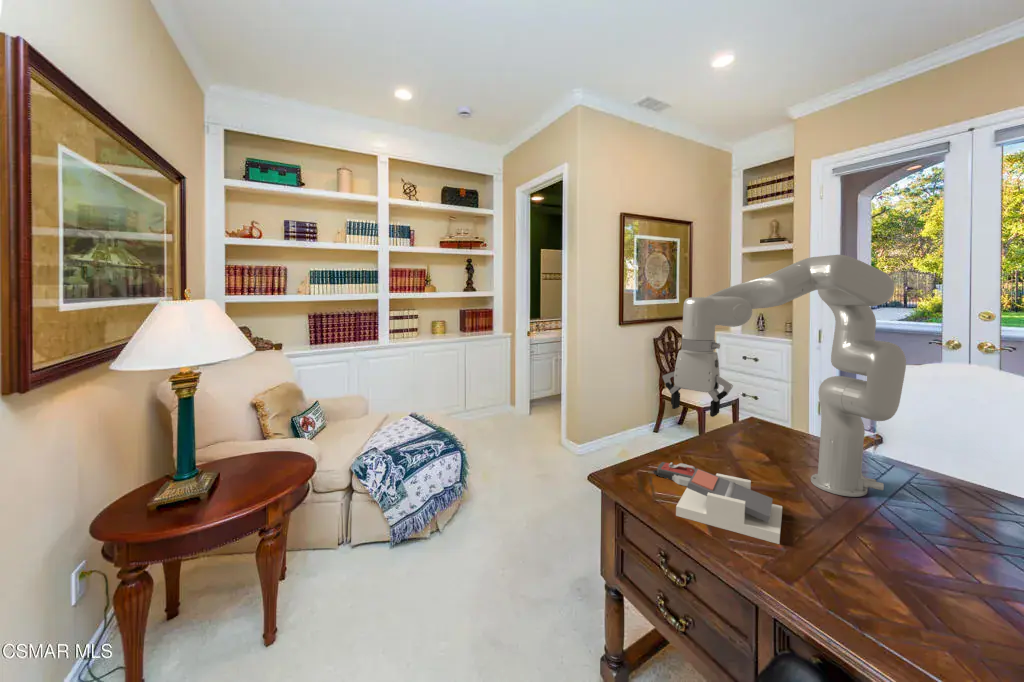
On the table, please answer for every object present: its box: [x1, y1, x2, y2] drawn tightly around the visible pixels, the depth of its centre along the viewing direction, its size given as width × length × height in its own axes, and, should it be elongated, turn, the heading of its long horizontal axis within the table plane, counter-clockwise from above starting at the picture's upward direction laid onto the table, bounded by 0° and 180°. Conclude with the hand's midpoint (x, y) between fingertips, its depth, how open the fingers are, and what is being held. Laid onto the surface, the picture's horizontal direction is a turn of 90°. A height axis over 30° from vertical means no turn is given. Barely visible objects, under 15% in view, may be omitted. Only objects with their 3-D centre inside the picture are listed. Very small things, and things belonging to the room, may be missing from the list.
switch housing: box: [675, 473, 783, 545], centre depth 103 cm, size 22×14×8 cm, turn 55°
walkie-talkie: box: [652, 461, 697, 487], centre depth 123 cm, size 9×4×20 cm
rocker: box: [686, 468, 773, 522], centre depth 103 cm, size 18×10×2 cm, turn 56°
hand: (694, 411), depth 106 cm, fingers open, 9 cm apart
